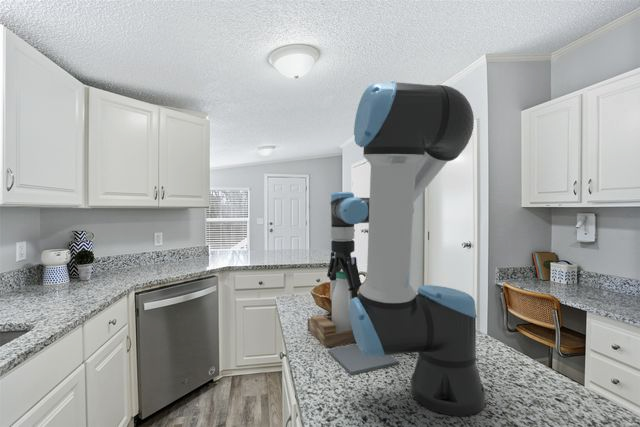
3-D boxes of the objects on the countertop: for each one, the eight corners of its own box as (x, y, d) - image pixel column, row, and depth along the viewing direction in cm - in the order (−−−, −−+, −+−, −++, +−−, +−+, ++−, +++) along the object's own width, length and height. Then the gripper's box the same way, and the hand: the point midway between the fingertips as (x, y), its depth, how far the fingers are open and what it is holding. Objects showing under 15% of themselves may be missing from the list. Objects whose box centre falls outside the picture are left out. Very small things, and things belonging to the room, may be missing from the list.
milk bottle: (354, 338, 104) (353, 275, 104) (330, 337, 106) (329, 274, 106) (356, 330, 112) (356, 270, 112) (333, 328, 114) (333, 269, 113)
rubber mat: (398, 364, 87) (398, 361, 87) (350, 375, 82) (350, 372, 82) (370, 344, 100) (370, 341, 100) (327, 352, 95) (327, 349, 95)
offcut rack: (373, 339, 104) (373, 313, 104) (326, 347, 98) (326, 320, 98) (350, 322, 119) (349, 300, 119) (307, 329, 113) (307, 306, 113)
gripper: (373, 243, 98) (373, 314, 99) (336, 235, 121) (337, 293, 122) (350, 244, 95) (350, 318, 96) (317, 236, 119) (318, 296, 119)
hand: (343, 304), depth 109 cm, fingers open, 13 cm apart
